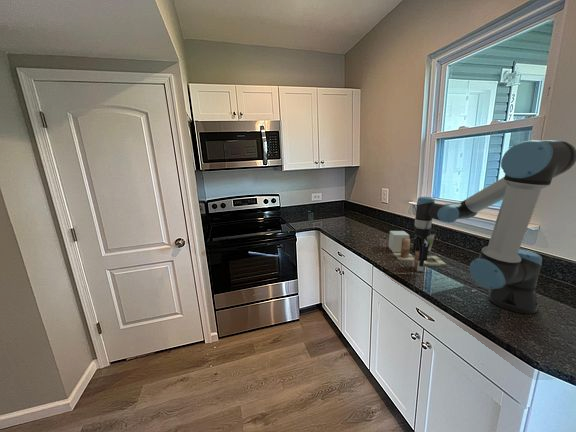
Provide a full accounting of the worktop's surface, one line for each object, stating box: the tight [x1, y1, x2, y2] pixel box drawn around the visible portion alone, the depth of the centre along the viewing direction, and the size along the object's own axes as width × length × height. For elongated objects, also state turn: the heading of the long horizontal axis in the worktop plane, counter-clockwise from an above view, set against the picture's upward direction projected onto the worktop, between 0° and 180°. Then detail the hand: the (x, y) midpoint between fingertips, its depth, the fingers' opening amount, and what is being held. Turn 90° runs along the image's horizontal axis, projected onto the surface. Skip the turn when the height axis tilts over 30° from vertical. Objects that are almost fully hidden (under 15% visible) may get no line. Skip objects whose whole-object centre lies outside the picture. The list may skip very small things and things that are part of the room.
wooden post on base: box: [392, 237, 414, 261], centre depth 147 cm, size 11×10×12 cm
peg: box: [413, 250, 423, 274], centre depth 131 cm, size 4×4×11 cm
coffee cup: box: [422, 227, 436, 252], centre depth 157 cm, size 10×10×15 cm
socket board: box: [423, 255, 447, 267], centre depth 140 cm, size 12×12×2 cm
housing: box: [388, 230, 410, 253], centre depth 158 cm, size 9×9×13 cm
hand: (417, 269), depth 132 cm, fingers closed on peg, 4 cm apart
